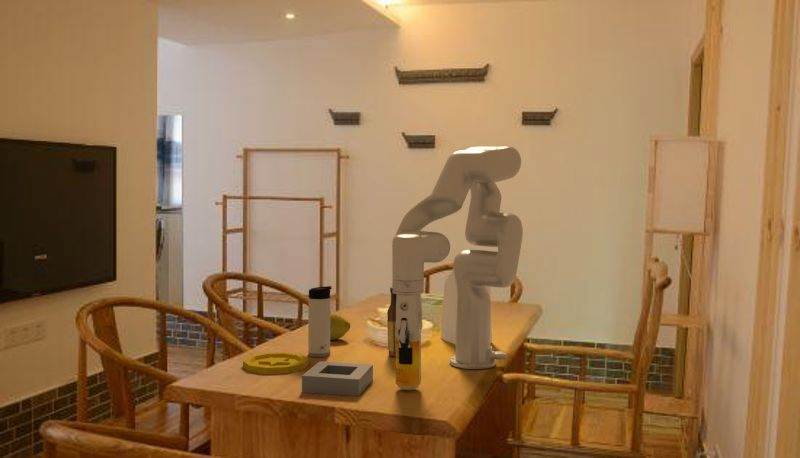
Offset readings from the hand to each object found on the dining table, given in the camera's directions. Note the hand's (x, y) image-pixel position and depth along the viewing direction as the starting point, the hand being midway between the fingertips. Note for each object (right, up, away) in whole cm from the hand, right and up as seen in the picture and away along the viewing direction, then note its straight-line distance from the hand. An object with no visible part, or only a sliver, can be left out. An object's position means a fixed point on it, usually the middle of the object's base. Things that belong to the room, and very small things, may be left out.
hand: (408, 359), depth 176 cm
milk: (+19, -4, +55) cm, 58 cm away
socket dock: (-17, -7, +3) cm, 19 cm away
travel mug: (-25, -5, +34) cm, 43 cm away
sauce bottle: (-3, -5, +35) cm, 35 cm away
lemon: (-23, -4, +54) cm, 59 cm away
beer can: (0, -7, +1) cm, 7 cm away
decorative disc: (-36, -6, +22) cm, 43 cm away
